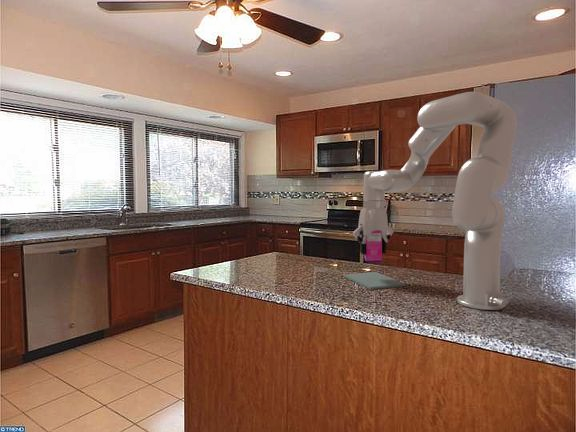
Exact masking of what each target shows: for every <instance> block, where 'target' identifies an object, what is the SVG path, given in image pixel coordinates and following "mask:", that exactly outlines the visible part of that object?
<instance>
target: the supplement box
mask: <svg viewBox="0 0 576 432" xmlns="http://www.w3.org/2000/svg"><path fill="white" fill-rule="evenodd" d="M365 244H366V245H367V247H366V255H364V260H365V262H366V263H383V253H382V231H372V233H371V235H370V236H368V237H366V242H365Z"/></svg>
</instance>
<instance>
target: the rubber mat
mask: <svg viewBox="0 0 576 432" xmlns="http://www.w3.org/2000/svg"><path fill="white" fill-rule="evenodd" d="M345 277H346V279H347V278H348V280H350V281H351V282H354V283H357V284H358V285H360V286H362V287H364V288H367V289H369V290H378V289H379V290H380V289H388V288H398V287H399V288H400V287H406V286H407V283H406V282H402V281H400V280H397V279H394V278H392V277H390V276H387V275H384V274H383V273H382V274H381V273H380V272H377V271H372V272H371V271H370V272H360V273H349V274H347V273H346V274H343V278H345Z"/></svg>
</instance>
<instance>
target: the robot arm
mask: <svg viewBox="0 0 576 432" xmlns="http://www.w3.org/2000/svg"><path fill="white" fill-rule="evenodd" d="M416 119H417V124H418V125H419V127H418V128H417V130H416V131H415V132H414V133H413V135H411V137H410V139H409V140H408V143H407V145H408V147H409V149H410V151H411V153H410V157H409V159H408V160H407V162H406V163H405V164H404V166H403V167H402V168H401V169H384V170H383V169H382V170H370V171H365V172H364V174H363V198H362V199H363V202H362V203H363V205H362V206H363V208H360V213H359V217H358V218H359V219H358V227H357V228H356V229H355V230H354V231H352V235H353V237H355V239H356V240H357V242H358V243H359V252H360V254H361V255H364V256H365V255H366V247H367V245H366V244H365V242H366V237H368V236H370V235H371V233H372V231H382V254H386V253H387V243H388V242H389V239H391V237H392V235H393V234H394V232H395V231H394V230H393V229H392V228H391V227H390V226H389V225H388V224H389V223H388V212H387V209H386V208H385V207H386V206H388V202H387V201H385V196H386V195H385V193H386V192H394V193H395V192H406V191H407V190H409V189H411V188H412V187H413V186H414V184H416V183H417V182H418V180H419V179H420V178H421V177H422V176H423V174H424V173H425V171H426V169H427V166H428V164H429V161H430V158H431V157H432V155H433V154H434V152H436V150H437V149H438V147H440V146H441V144H442V143H443V142H444V141H445V140H446V139H447V137H448V136H449V135H450V134H451V133H452V131H453V130H455V128H456V127H457V126H459V125H471V126H477V127H481V128H482V129H483V132H482V135H481V137H480V140H479V143H478V148H477V149H478V150H477V155H476V157H472V158H470V159H468V160H467V161H465V162H464V163H463V165H461V168H460V169H459V171H458V174H457V178H456V183H455V188H454V190H455V191H454V195H453V200H452V208H451V216H452V221H453V223H454V224H455V225H456V226H457V228H459V229H460V230H462V231H465V237H464V244H463V245H464V246H463V247H464V249H463V277H462V278H463V282H462V283H463V284H462V287H463V288H462V294H460V295H458V296H457V297H456V298H457V299H456V302H457V303H458V304H460V305H462V306H465V307H467V308H471V309H475V310H476V309H477V310H483V311H486V310H487V311H497V310H498V311H499V310H502V309H505V308H506V306H507V305H509V303H510V299H509V298H506V297H503V291H500V287H501V286H500V284H501V283H500V282H501V281H500V280H501V279H500V278H501V254H502V253H501V252H502V237H503V231H504V230H503V229H504V223H505V217H506V216H505V215H506V213H505V208H504V206H503V204H502V202H500V200H498V199H496V197H495V198H494V197H492V194H493V192H496V191H499V190H501V189H502V188H503V187H504V186H505V185H506V184H507V181H508V177H509V171H510V167H511V160H512V156H513V151H514V150H513V148H514V144H515V143H514V142H515V139H516V134H517V130H518V129H517V127H518V120H517V116H516V114H515V112H514V110H513V108H511V106H510V105H509V104H507V103H505V102H504V101H502V100H500V99H498V98H496V97H493V96H490V95H487V94H485V93H482V92H479V91H466V92H462V93H457V94H454V95H449V96H447V97H446V96H445V97H442V98H439V99H434V100H431V101H429V102H427V103H425V104H424V105H423V106H422V107H421V108H420V109H419V111H418V113H417V117H416Z"/></svg>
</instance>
